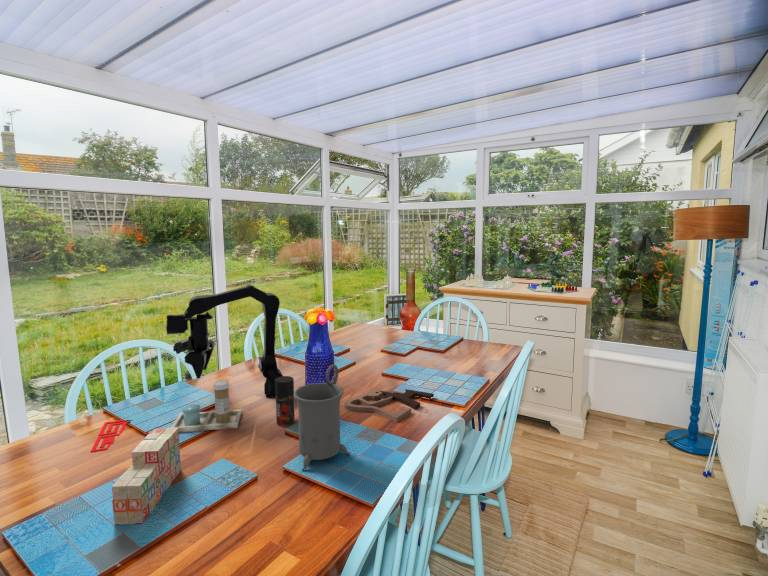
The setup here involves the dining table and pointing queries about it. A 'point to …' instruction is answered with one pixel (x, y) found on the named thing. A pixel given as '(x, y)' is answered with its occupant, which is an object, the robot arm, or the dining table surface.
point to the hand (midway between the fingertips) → (201, 373)
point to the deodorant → (284, 400)
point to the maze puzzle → (108, 440)
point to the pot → (191, 415)
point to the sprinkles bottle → (222, 401)
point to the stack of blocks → (147, 476)
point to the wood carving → (385, 398)
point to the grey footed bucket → (319, 419)
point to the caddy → (208, 422)
